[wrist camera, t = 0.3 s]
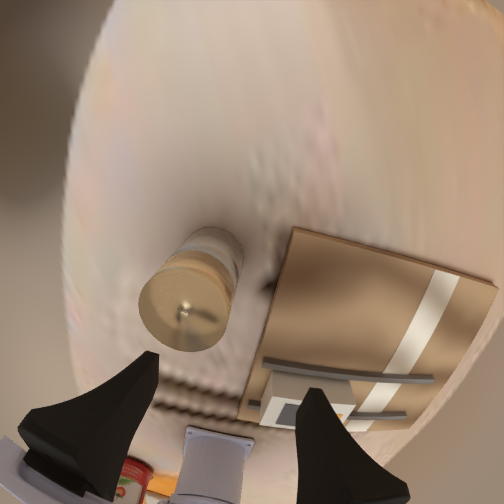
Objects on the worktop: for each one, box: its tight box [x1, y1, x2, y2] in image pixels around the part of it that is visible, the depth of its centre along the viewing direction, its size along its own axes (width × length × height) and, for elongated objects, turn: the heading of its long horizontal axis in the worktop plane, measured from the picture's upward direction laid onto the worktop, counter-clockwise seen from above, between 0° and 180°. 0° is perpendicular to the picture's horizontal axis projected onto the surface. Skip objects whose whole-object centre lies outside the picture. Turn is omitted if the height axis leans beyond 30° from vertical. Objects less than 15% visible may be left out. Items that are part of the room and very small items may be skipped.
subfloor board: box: [237, 227, 499, 431], centre depth 22 cm, size 20×21×2 cm
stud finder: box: [259, 370, 356, 429], centre depth 21 cm, size 4×7×3 cm, turn 78°
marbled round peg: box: [139, 227, 243, 352], centre depth 17 cm, size 4×4×8 cm
